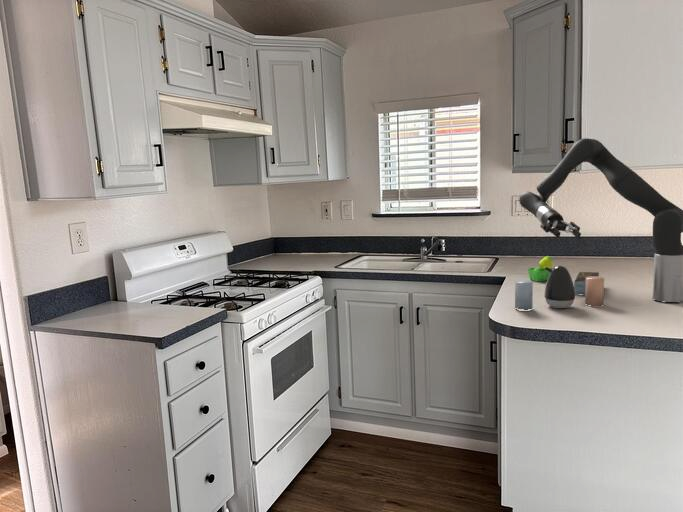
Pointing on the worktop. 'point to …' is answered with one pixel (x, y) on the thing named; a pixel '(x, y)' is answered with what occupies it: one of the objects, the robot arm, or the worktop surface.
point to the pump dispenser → (559, 288)
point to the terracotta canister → (594, 291)
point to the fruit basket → (541, 270)
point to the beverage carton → (582, 281)
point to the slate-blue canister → (524, 294)
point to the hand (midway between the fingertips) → (569, 235)
